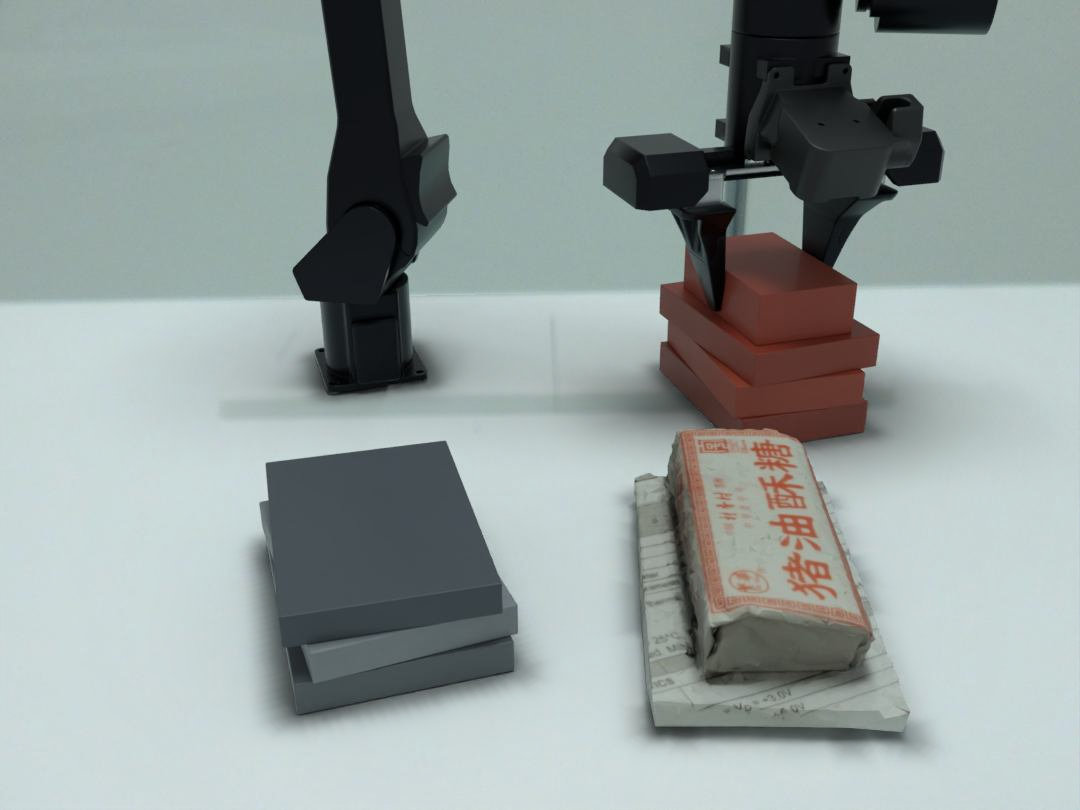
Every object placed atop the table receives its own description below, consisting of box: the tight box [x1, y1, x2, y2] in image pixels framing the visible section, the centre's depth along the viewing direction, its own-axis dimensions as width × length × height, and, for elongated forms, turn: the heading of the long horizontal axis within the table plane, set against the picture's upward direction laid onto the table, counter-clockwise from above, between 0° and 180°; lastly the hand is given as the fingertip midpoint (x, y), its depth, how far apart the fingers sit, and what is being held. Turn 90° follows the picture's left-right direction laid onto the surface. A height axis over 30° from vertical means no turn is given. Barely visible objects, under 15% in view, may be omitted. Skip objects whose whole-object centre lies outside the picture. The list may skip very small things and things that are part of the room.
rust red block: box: [683, 231, 858, 346], centre depth 68 cm, size 10×6×3 cm, turn 17°
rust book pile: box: [658, 280, 881, 443], centre depth 70 cm, size 13×9×6 cm
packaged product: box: [633, 428, 911, 733], centre depth 51 cm, size 18×5×10 cm
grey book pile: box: [258, 440, 519, 716], centre depth 52 cm, size 13×10×4 cm
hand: (762, 303), depth 69 cm, fingers closed on rust red block, 6 cm apart
